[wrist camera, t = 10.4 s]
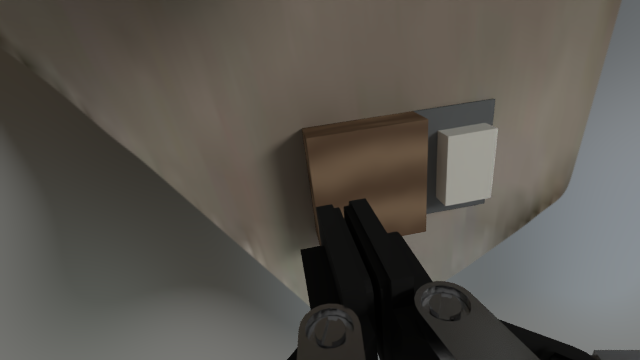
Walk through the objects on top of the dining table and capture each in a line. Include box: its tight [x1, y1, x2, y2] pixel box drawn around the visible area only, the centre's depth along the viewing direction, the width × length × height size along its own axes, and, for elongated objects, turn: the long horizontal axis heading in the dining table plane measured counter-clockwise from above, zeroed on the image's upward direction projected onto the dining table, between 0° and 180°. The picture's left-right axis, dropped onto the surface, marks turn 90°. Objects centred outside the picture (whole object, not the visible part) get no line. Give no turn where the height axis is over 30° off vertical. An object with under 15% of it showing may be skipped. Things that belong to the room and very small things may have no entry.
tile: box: [436, 123, 498, 206], centre depth 41 cm, size 9×6×2 cm, turn 7°
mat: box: [413, 99, 495, 214], centre depth 42 cm, size 14×10×1 cm
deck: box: [302, 111, 428, 246], centre depth 39 cm, size 14×13×4 cm
